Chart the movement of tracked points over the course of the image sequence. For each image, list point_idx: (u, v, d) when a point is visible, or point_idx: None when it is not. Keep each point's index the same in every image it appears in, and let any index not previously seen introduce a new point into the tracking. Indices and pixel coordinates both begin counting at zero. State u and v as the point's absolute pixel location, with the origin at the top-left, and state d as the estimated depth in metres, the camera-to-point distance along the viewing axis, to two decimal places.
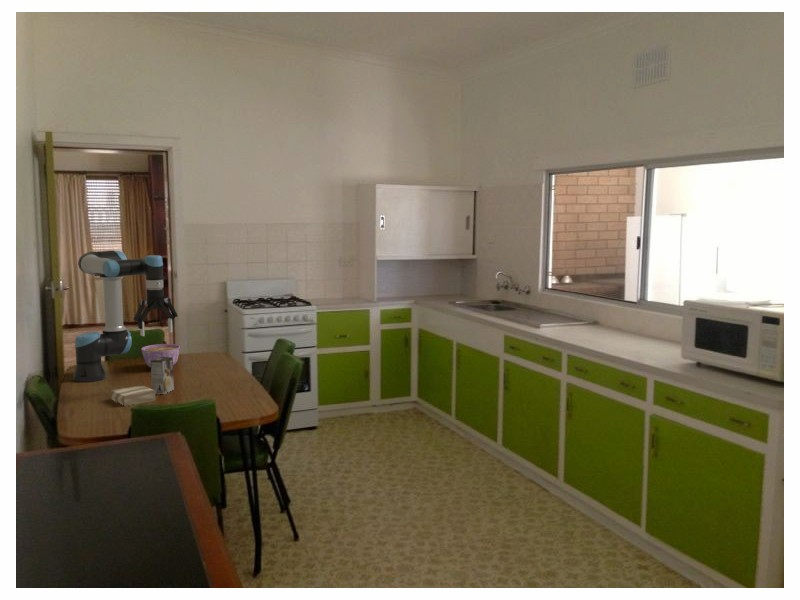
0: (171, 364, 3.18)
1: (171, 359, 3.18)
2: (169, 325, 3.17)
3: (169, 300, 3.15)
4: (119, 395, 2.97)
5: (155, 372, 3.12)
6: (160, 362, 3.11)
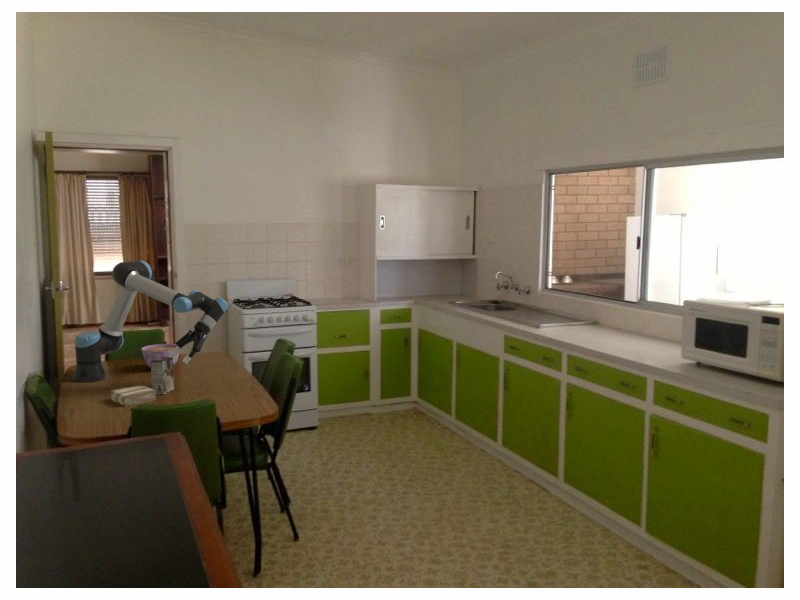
0: (171, 364, 3.18)
1: (171, 359, 3.18)
2: (175, 352, 3.26)
3: None
4: (119, 395, 2.97)
5: (155, 372, 3.12)
6: (160, 362, 3.11)
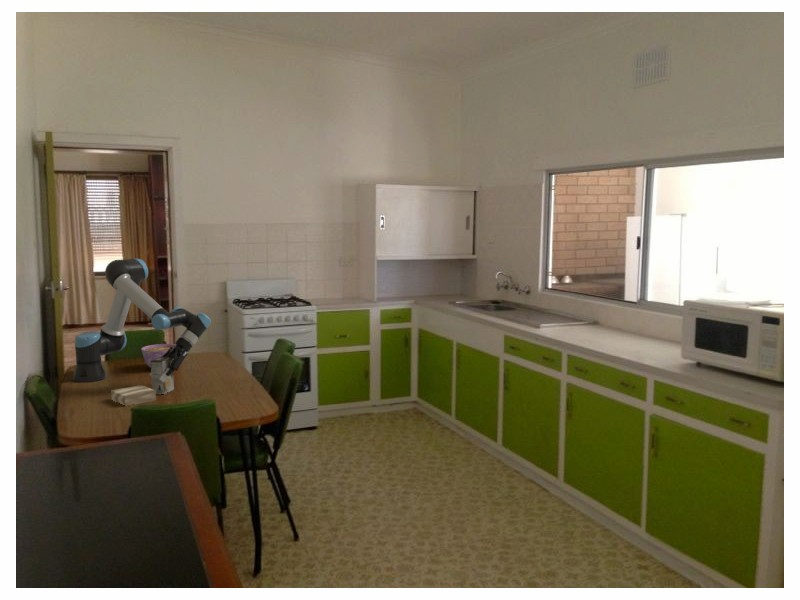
0: None
1: (171, 359, 3.18)
2: None
3: None
4: (119, 395, 2.96)
5: (155, 372, 3.12)
6: (160, 362, 3.11)
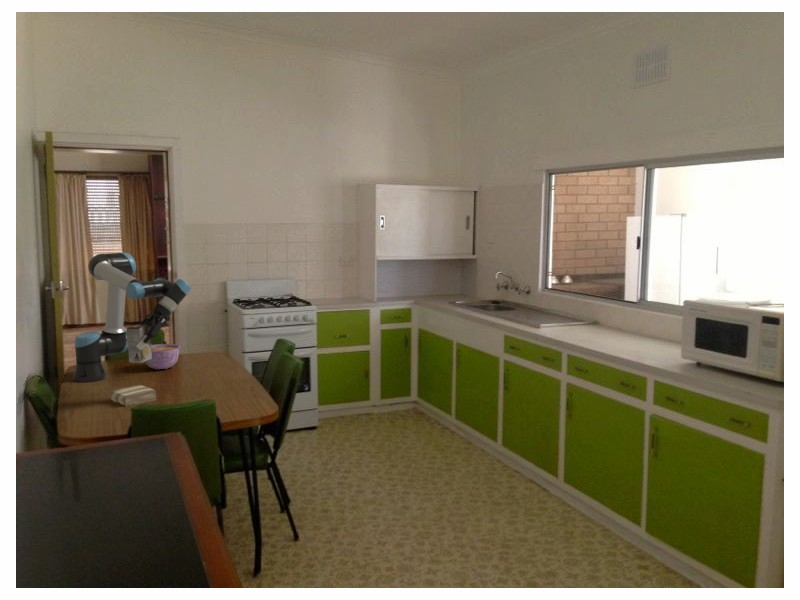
0: None
1: (149, 326, 3.04)
2: None
3: None
4: (120, 395, 2.96)
5: (132, 339, 2.98)
6: (137, 329, 2.97)
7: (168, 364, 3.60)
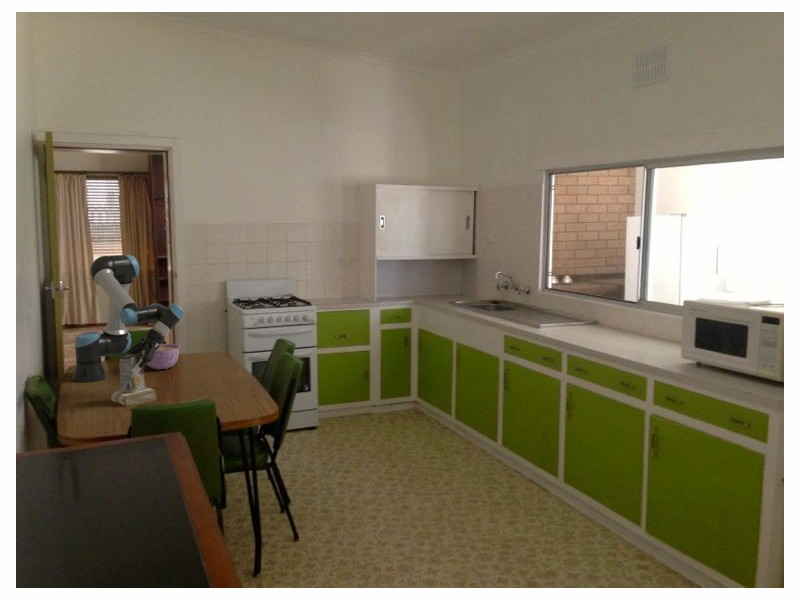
0: None
1: (141, 356, 3.03)
2: None
3: None
4: (120, 395, 2.96)
5: (123, 369, 2.98)
6: (128, 358, 2.96)
7: (168, 364, 3.60)
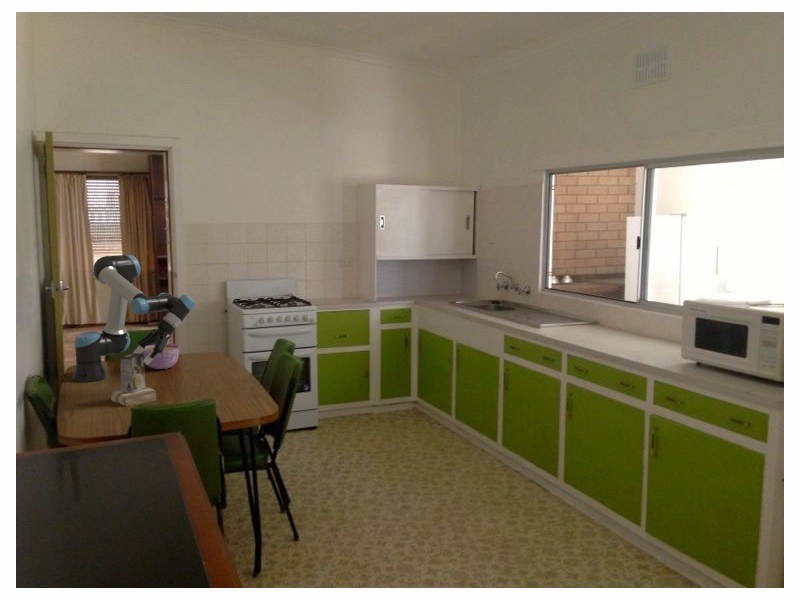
0: (142, 361, 3.03)
1: (142, 356, 3.03)
2: (137, 352, 3.08)
3: None
4: (120, 395, 2.96)
5: (124, 369, 2.97)
6: (129, 359, 2.96)
7: (168, 364, 3.60)
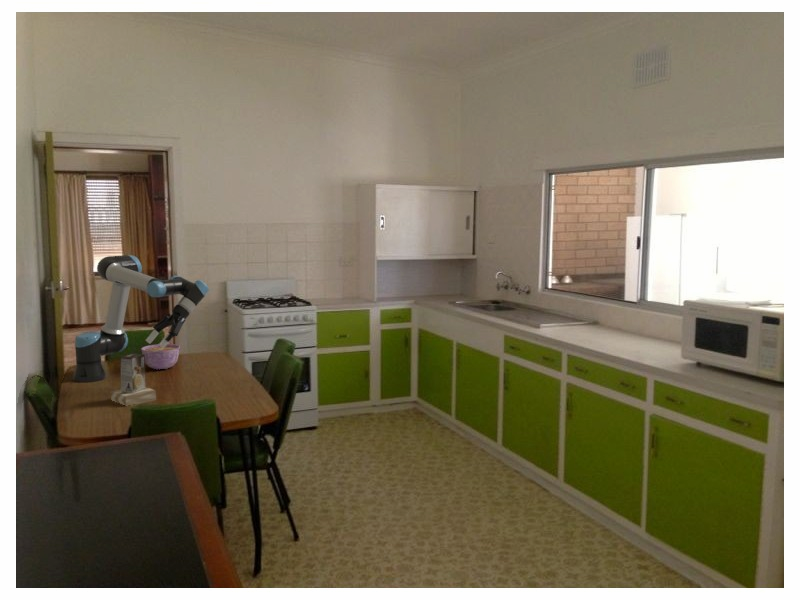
0: (142, 361, 3.03)
1: (143, 356, 3.03)
2: (152, 336, 3.14)
3: None
4: (120, 395, 2.96)
5: (124, 369, 2.97)
6: (130, 359, 2.96)
7: (168, 364, 3.60)
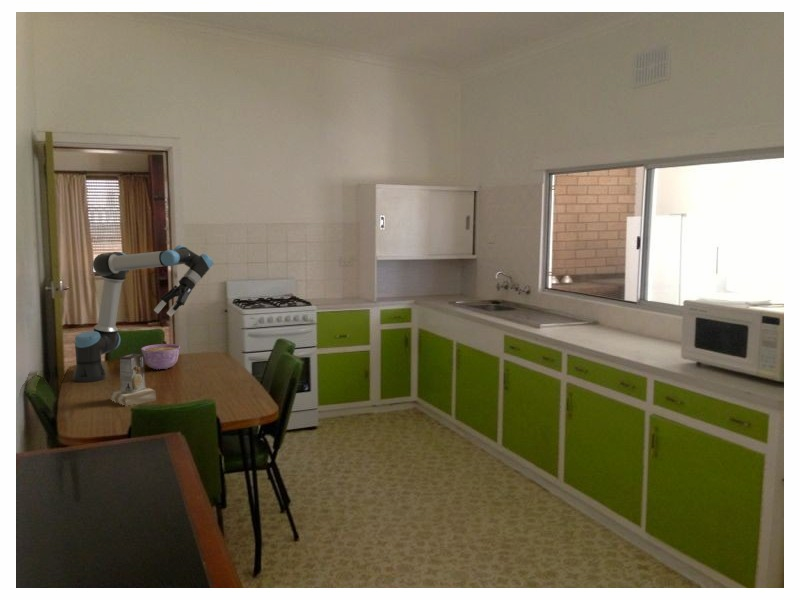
0: (142, 361, 3.03)
1: (142, 356, 3.03)
2: (160, 306, 3.32)
3: None
4: (119, 395, 2.96)
5: (124, 369, 2.97)
6: (129, 359, 2.96)
7: (168, 364, 3.60)
